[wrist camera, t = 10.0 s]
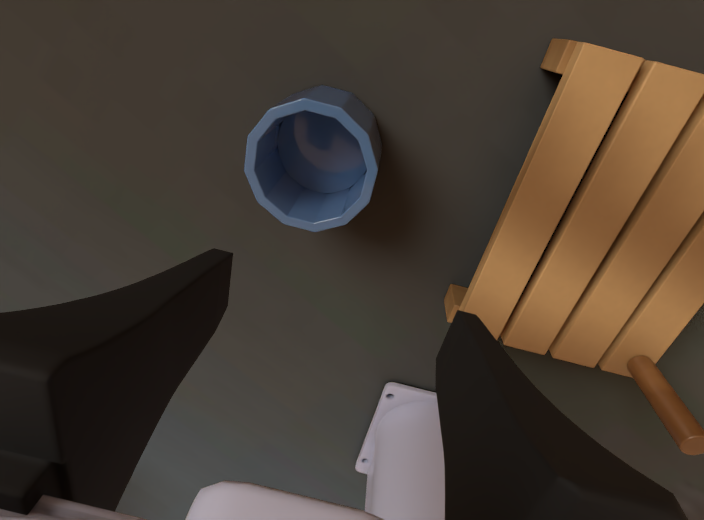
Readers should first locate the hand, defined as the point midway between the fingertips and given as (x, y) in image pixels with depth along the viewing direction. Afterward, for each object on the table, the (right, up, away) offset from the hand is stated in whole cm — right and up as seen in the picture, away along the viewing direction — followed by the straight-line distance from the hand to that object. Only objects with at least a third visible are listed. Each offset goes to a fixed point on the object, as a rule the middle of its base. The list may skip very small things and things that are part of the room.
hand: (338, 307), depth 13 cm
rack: (+13, +4, +8) cm, 16 cm away
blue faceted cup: (-1, +7, +8) cm, 11 cm away
